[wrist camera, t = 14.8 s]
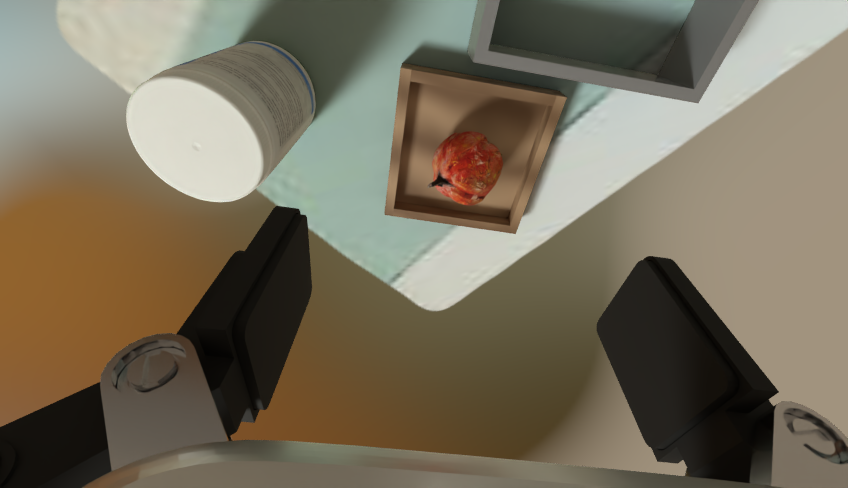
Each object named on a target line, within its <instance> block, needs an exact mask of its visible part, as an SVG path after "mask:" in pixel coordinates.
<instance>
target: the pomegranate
mask: <svg viewBox="0 0 848 488" xmlns="http://www.w3.org/2000/svg"><path fill="white" fill-rule="evenodd" d="M501 155H502V154H500V151H499V149H498V148H497V147H496V146H495V145H493V144H492V143H490V142H489V141H488V140H487V138H486V136H485V135H483V134H481V133H478V132H472V131H469V132H462V133H454V134H452V135H451V136H449V137H448V138H446V139H445V140H444V141H443V142H442V143H441V144H440V145H439V147H438V148H437V149H436V151H435V153H434V158H433V161H432V166H433V171H434V177H433V182H432V183H430V184H429V185H428V187H427V188H430V187H434V186H435V187H436V189H437V190H438V191H440V192H441V193H442V194H443V195H445V196H447V197H450V198H452V199H453V200H454V201H456V202H457V203H460V204H463V205H470V206H473V205H475V204H478V203H480V202H481V201H483V199H484V198H485V197H486V195H487V194H488V193H489V192H490V191H491V190H492V188H493V187H494V186H495V184H496V183H497V181H498V178H499V176H500V174H501V170H502V166H503V160H502V157H501Z"/></svg>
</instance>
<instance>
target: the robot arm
mask: <svg viewBox="0 0 848 488" xmlns="http://www.w3.org/2000/svg"><path fill="white" fill-rule="evenodd" d="M311 291H312V281H311V267H310V253H309V239H308V225H307V217H306V215H301V214H300V211H299V209H296V208H289V207H281V206H276V207H275V208H274V209H273V210H272V212H271V213H270V215H269V216H268V218H267V219H266V221H265V222H264V224H263V225H262V227H261V228H260V230H259V231H258V233H257V234H256V236H255V237H254V239H253V240H252V241H251V243H250V244H249V246H248V247H247V249H246V250H245V251H237V252H235V253H234V254H233V255H232V257H231V258H230V259H229V261H228V262H227V263H226V265H225V266H224V268H223V269H222V271H221V272H220V273H219V275H218V276H217V278H216V279H215V280H214V282H213V283H212V285H211V286H210V287H209V289H208V290H207V292H206V293H205V295H204V296H203V297H202V299H201V300H200V302H199V303H198V305H197V306H196V307H195V309H194V310H193V312H192V313H191V314H190V316H189V317H188V318H187V320H186V321H185V323H184V324H183V326H182V327H181V328H180V330H179V331H178V333H177V334H172V333H167V334H156V335H152V336H148V337H144V338H142V339H140V340H137V341H135V342H133V343H131V344H129V345H128V346H126V347H125V348H123V349H122V350H121V351H119V352H118V353H117V354H116V355H115V356H114V357H113V358H112V359H111V360H110V361H109V362H108V363H107V365H106V367H105V368H104V370H103V372H102V374H101V381H100V382H99V383H97V384H94V385H93V386H90V387H88V388H86V389H83V390H81V391H79V392H77V393H75V394H73V395H70V396H68V397H66V398H64V399H61V400H59V401H57V402H55V403H53V404H50V405H48V406H46V407H44V408H42V409H39V410H37V411H35V412H33V413H30V414H28V415H26V416H24V417H22V418H19V419H17V420H15V421H13V422H11V423H9V424H6V425H4V426H2V427H0V488H848V438H847V437H846V436H845V435H844V434H843V433H842V432H841V431H840V430H839V429H838V428H837V427H836V426H835V425H833V424H832V423H831V422H830V421H828V420H827V419H826V418H824V417H823V416H821V415H820V414H818V413H817V412H815V411H814V410H812V409H810V408H807V407H805V406H803V405H801V404H798V403H794V402H785V401H783V402H780V403H778V404H776V405H775V406H773V405H772V404H771V403H770V402H769V400H768V399H770V398H771V397H772V396H774V395H775V394H777V393H778V392H779V391H778V390H777V389H776V388H775V386H774V385H773V384H772V383H771V381H770V380H769V379H768V378H767V376H766V375H765V374H764V373H763V372H762V370H761V369H760V368H759V366H758V365H757V364H756V363H755V361H754V360H753V359H752V358H751V356H750V355H749V354H748V353H747V351H746V350H745V349H744V348H743V346H742V345H741V344H740V343H739V341H738V340H737V339H736V338H735V336H734V335H733V334H732V333H731V332H730V330H729V329H728V328H727V327H726V325H725V324H724V323H723V322H722V320H721V319H720V318H719V317H718V315H717V314H716V313H715V312H714V310H713V309H712V308H711V307H710V306H709V304H708V303H707V302H706V300H705V299H704V298H703V297H702V295H701V294H700V293H699V292H698V290H697V289H696V288H695V287H694V286H693V284H692V283H691V282H690V280H689V279H688V278H687V277H686V276H685V274H684V273H683V272H682V270H681V269H680V268H679V267H678V265H677V264H676V263H675V262H674V261H673V260H671V259H668V258H660V257H653V256H648V257H646V258H644V260H641V261H639V262H638V263H637V264H636V266H635V267H634V268H633V270H632V271H631V273H630V275H629V276H628V277H627V279H626V280H625V282H624V283H623V285H622V286H621V288H620V289H619V291H618V292H617V294H616V295H615V297H614V298H613V300H612V301H611V303H610V304H609V305H608V307H607V308H606V310H605V311H604V313H603V314H602V316H601V317H600V319H599V320H598V323H597V332H598V335H599V337H600V340H601V342H602V344H603V347H604V349H605V351H606V354H607V356H608V358H609V360H610V363H611V365H612V367H613V370H614V372H615V374H616V377H617V379H618V381H619V383H620V386H621V388H622V390H623V393H624V395H625V397H626V399H627V402H628V404H629V406H630V408H631V411H632V413H633V415H634V418H635V420H636V422H637V425H638V427H639V429H640V432H641V434H642V436H643V438H644V440H645V442H646V444H647V445H648V446H649V447H651V448H652V450H653V452H654V455H655V457H656V459H657V461H658V462H669V463H679V462H680V461H682V460H684V462H685V464H686V466H687V470H686V473H685V476H676V475H665V474H655V473H646V472H636V471H625V470H616V469H605V468H595V467H584V466H573V465H563V464H552V463H542V462H531V461H520V460H509V459H498V458H488V457H478V456H466V455H455V454H444V453H443V454H442V453H431V452H421V451H410V450H398V449H387V448H376V447H365V446H352V445H338V444H323V443H309V442H295V441H269V440H239V441H232V438H231V435H232V434H234V433H235V432H237V430H238V427H239V425H240V423H241V421H242V422H253V423H254V422H255V420H256V417H257V415H258V412H259V410H260V409H262V410H266V409H267V407H268V405H269V403H270V401H271V398H272V395H273V393H274V391H275V388H276V385H277V383H278V380H279V378H280V375H281V372H282V370H283V367H284V364H285V362H286V359H287V357H288V354H289V351H290V349H291V346H292V344H293V341H294V339H295V336H296V333H297V331H298V328H299V326H300V323H301V320H302V317H303V315H304V312H305V310H306V307H307V305H308V302H309V299H310V296H311Z"/></svg>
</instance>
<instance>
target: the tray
mask: <svg viewBox="0 0 848 488" xmlns="http://www.w3.org/2000/svg"><path fill="white" fill-rule="evenodd" d="M566 99H567V97H566V96H565V95H563V94H562V93H561V92H560V91H557V90H551V89H546V88H540V87H534V86H529V85H523V84H518V83H512V82H507V81H501V80H495V79H490V78H484V77H479V76H473V75H468V74H462V73H457V72H451V71H445V70H440V69H434V68H429V67H423V66H418V65H412V64H406V63H402V66H401V70H400V79H399V88H398V97H397V106H396V115H395V124H394V133H393V143H392V152H391V161H390V170H389V179H388V188H387V197H386V206H385V215H390V216H397V217H404V218H410V219H417V220H424V221H431V222H438V223H445V224H452V225H458V226H465V227H472V228H479V229H486V230H493V231H500V232H506V233H513V234H516V231H517V229H518V226H519V223H520V221H521V218H522V215H523V213H524V210H525V207H526V205H527V202H528V199H529V197H530V194H531V192H532V189H533V186H534V184H535V181H536V178H537V176H538V173H539V170H540V168H541V165H542V162H543V160H544V157H545V154H546V152H547V149H548V146H549V144H550V141H551V139H552V136H553V133H554V131H555V128H556V125H557V123H558V120H559V117H560V115H561V112H562V109H563V107H564V104H565V101H566ZM469 131H472V132H478V133H481V134H483V135H485V136H486V138H487V140H488V141H489V142H490V143H492V144H493V145H495V146H496V147H497V148H498V149H499V151H500V154H502V155H501V157H502V160H503V166H502V170H501V174H500V176H499V178H498V181H497V183H496V184H495V186H494V187H493V188H492V190H491V191H490V192H489V193H488V194H487V195H486V197H485V198H484V199H483V201H481V202H480V203H478V204H475V205H473V206H470V205H463V204H460V203H457V202H456V201H454V200H453V199H452V198H450V197H447V196H445V195H443V194H442V193H441V192H440V191H438V190H437V189H436V187H435V186H434V187H430V188H427V187H428V185H429V184H430V183H432V182H433V177H434V171H433V166H432V161H433V158H434V153H435V151H436V149H437V148H438V147H439V145H440V144H441V143H442V142H443V141H444V140H445V139H446V138H448V137H449V136H451V135H452V134H454V133H462V132H469Z"/></svg>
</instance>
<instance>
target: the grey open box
mask: <svg viewBox="0 0 848 488" xmlns="http://www.w3.org/2000/svg"><path fill="white" fill-rule="evenodd" d="M758 1H759V0H696V1H695V3H694V5H693V7H692V9H691V11H690V13H689V15H688V17H687V19H686V21H685V22H684V24H683V26H682V28H681V30H680V32H679V34H678V36H677V38H676V40H675V42H674V44H673V46H672V48H671V50H670V52H669V54H668V56H667V58H666V60H665V62H664V64H663V66H662V68H661V70H660V72H659V74H658V75H657V74H651V73H646V72H641V71H635V70H630V69H625V68H619V67H614V66H609V65H603V64H598V63H593V62H587V61H582V60H577V59H571V58H566V57H561V56H555V55H550V54H545V53H539V52H534V51H529V50H523V49H518V48H513V47H507V46H502V45H497V44H491V43H490V40H491V36H492V32H493V28H494V23H495V19H496V15H497V11H498V6H499V2H500V0H478V1H477V6H476V11H475V16H474V21H473V26H472V31H471V35H470V40H469V45H468V50H467V52H468V54H469V56H470V57H471V59H472V61H473V62H475V63H480V64H486V65H491V66H497V67H502V68H508V69H513V70H519V71H524V72H529V73H535V74H540V75H546V76H551V77H557V78H562V79H568V80H573V81H579V82H584V83H590V84H595V85H601V86H606V87H612V88H617V89H623V90H628V91H633V92H639V93H644V94H650V95H655V96H661V97H666V98H672V99H677V100H683V101H688V102H694V103H699V101H700V99H701V98H702V96H703V94H704V92H705V91H706V89H707V87H708V86H709V84H710V82H711V81H712V79H713V77H714V76H715V74H716V72H717V70H718V69H719V67H720V65H721V64H722V62H723V60H724V59H725V57H726V55H727V53H728V52H729V50H730V48H731V47H732V45H733V43H734V42H735V40H736V38H737V36H738V35H739V33H740V31H741V30H742V28H743V26H744V25H745V23H746V21H747V19H748V18H749V16H750V14H751V13H752V11H753V9H754V8H755V6H756V4H757V2H758Z"/></svg>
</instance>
